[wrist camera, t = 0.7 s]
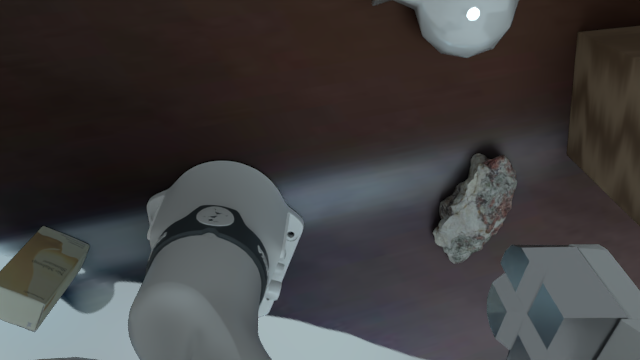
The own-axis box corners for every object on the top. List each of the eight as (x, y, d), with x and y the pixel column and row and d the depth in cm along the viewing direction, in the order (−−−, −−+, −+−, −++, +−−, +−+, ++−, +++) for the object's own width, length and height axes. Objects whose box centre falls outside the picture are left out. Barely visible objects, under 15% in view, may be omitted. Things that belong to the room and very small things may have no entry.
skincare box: (91, 243, 70) (48, 305, 59) (81, 269, 72) (37, 334, 61) (40, 223, 69) (-13, 282, 58) (31, 250, 71) (-23, 312, 60)
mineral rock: (463, 261, 72) (472, 281, 68) (410, 234, 70) (416, 253, 66) (537, 168, 66) (551, 184, 62) (482, 136, 65) (493, 151, 61)
